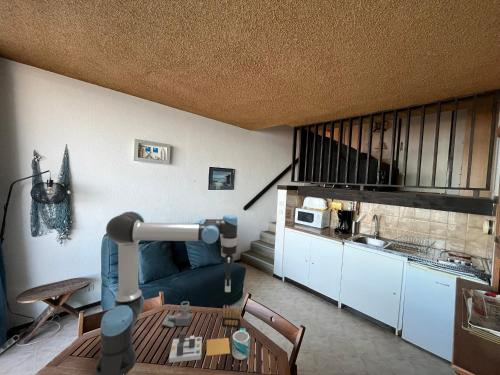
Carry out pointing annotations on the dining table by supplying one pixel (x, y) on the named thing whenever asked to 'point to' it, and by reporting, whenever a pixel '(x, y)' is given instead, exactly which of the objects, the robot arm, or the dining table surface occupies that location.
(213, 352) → the pad
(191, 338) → the breaker
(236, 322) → the ammunition clip
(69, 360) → the dining table surface
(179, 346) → the block
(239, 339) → the mug
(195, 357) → the breaker panel
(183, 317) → the camera
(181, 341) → the breaker
